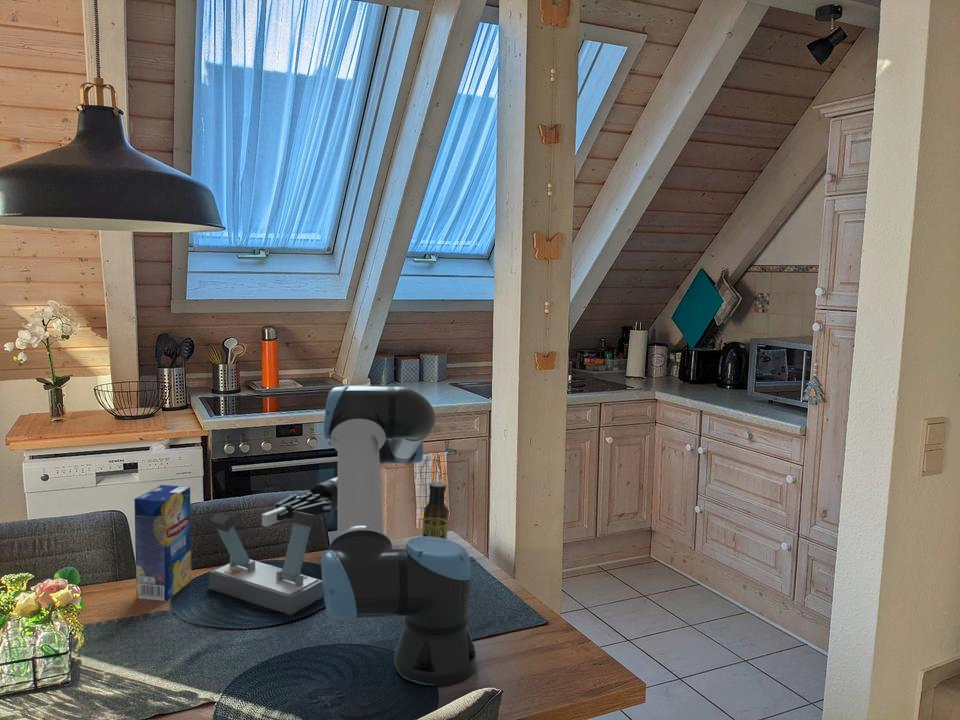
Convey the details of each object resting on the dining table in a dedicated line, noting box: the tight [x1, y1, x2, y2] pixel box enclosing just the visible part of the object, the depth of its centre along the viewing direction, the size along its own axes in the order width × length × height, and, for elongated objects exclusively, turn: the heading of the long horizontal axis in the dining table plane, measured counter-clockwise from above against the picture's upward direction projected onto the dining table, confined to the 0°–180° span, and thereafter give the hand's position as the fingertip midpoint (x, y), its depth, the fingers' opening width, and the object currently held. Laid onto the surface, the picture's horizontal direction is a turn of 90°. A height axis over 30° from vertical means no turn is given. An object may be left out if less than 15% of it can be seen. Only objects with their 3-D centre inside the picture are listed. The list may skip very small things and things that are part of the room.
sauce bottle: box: [421, 481, 449, 540], centre depth 190 cm, size 6×6×20 cm
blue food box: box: [133, 484, 192, 602], centre depth 168 cm, size 7×11×22 cm, turn 173°
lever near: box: [281, 511, 316, 582], centre depth 166 cm, size 4×2×14 cm, turn 61°
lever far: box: [209, 512, 250, 568], centre depth 168 cm, size 4×2×14 cm, turn 61°
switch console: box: [208, 556, 324, 616], centre depth 169 cm, size 24×10×6 cm, turn 61°
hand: (264, 520), depth 177 cm, fingers closed
